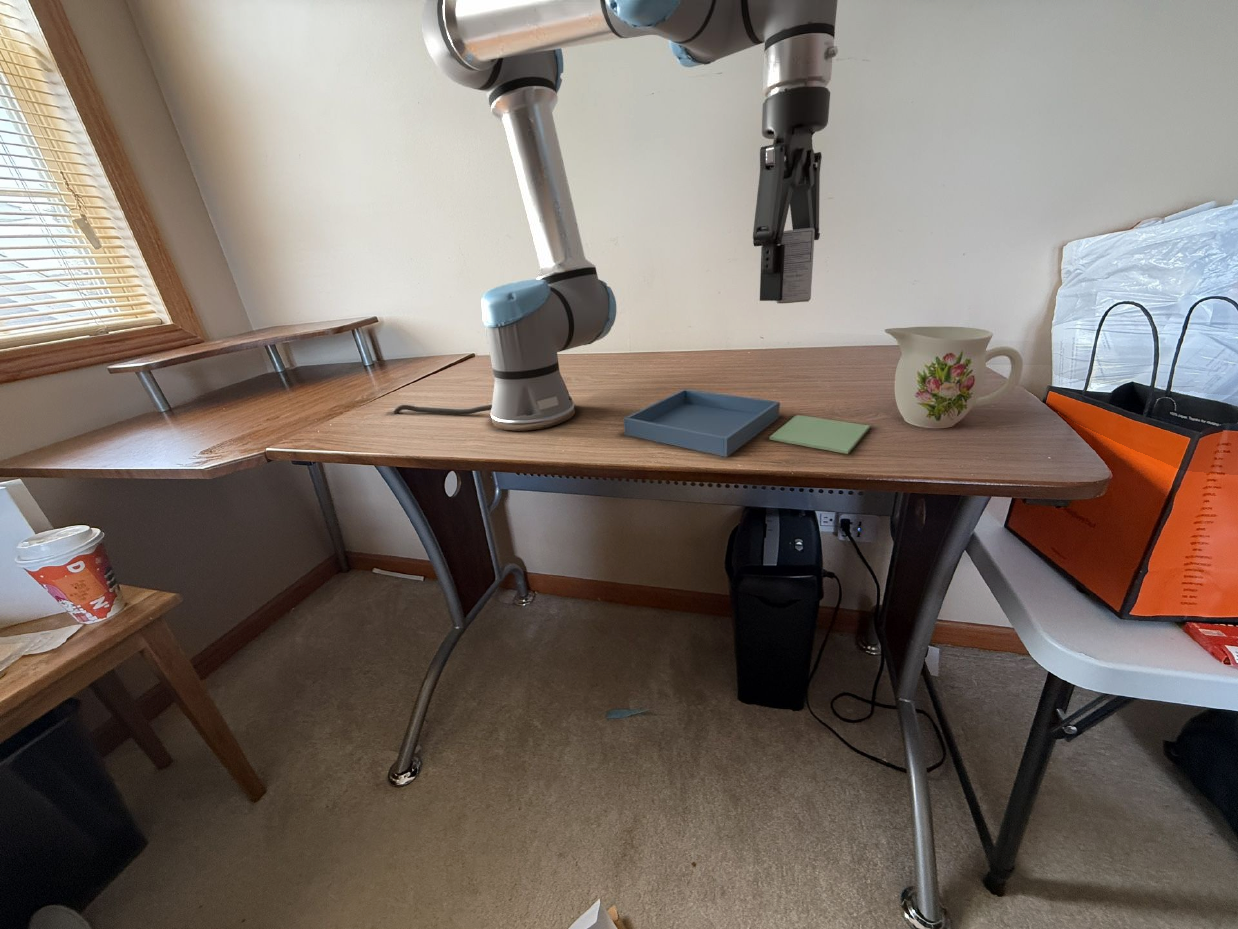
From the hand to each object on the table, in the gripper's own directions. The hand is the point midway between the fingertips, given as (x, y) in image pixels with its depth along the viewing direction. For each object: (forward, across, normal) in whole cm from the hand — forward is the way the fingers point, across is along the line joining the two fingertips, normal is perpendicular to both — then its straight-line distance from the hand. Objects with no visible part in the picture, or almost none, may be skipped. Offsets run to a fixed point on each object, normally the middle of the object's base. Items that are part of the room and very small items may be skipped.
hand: (784, 295), depth 65 cm
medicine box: (+1, 0, 0) cm, 1 cm away
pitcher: (+20, +15, -19) cm, 31 cm away
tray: (+20, -3, +11) cm, 23 cm away
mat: (+20, +2, -6) cm, 21 cm away
